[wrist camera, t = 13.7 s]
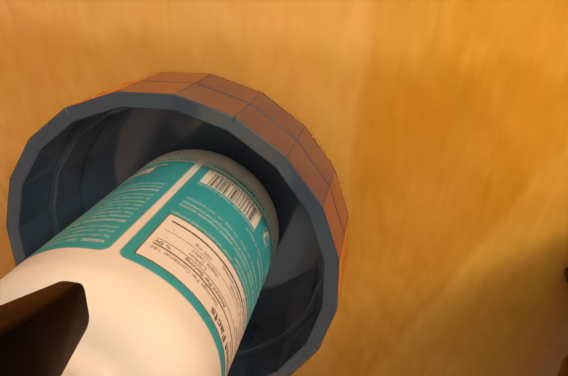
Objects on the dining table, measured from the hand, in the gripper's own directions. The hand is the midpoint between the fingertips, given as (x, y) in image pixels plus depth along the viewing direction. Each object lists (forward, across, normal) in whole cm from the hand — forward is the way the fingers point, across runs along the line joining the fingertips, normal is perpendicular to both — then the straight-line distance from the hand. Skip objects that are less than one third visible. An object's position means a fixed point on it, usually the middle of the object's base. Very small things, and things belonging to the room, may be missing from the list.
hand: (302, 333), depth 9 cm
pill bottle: (+13, +6, +5) cm, 15 cm away
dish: (+13, +7, +5) cm, 16 cm away
